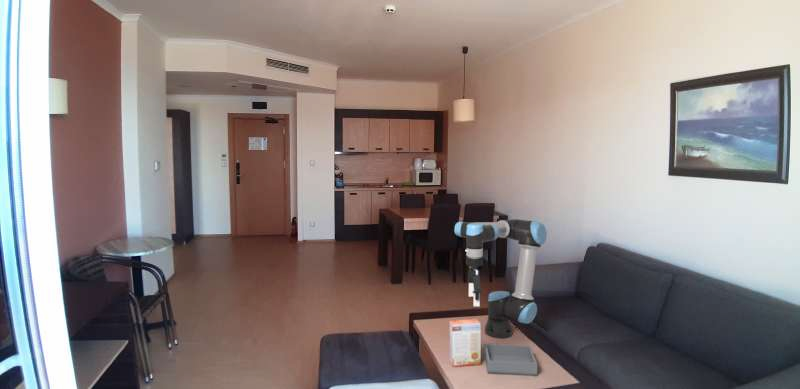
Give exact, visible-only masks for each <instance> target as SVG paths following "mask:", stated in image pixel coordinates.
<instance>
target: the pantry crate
mask: <svg viewBox="0 0 800 389" xmlns="http://www.w3.org/2000/svg"><path fill="white" fill-rule="evenodd" d="M532 349H533V348H532V347H531V346H530V345H515V344H514V345H513V344H495V343H494V344H491V343H490V344H489V343H484V361H485V365H486V366H485V367H486V372H487V374H488V375H507V376H508V375H509V376H510V375H511V376H523V377H524V376H526V377H538V363H537V359H536V357H535V355H534V353H533V350H532Z"/></svg>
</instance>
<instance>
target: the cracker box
mask: <svg viewBox="0 0 800 389" xmlns="http://www.w3.org/2000/svg"><path fill="white" fill-rule="evenodd" d="M481 326H482V324H481V322H480V320H479V319H478V318H469V319H467V318H466V319H455V320H449V363H450V365H451V366H452V368H457V367H467V366H469V367H470V366H478V365H479V366H480V365H481V362H482V359H481V357H482V356H481V355H482V354H481V353H482V352H481V350H482V349H481V347H482V346H481V345H482V343H481V342H482V340H481V339H482V338H481V337H482V334H481V333H482V328H481Z"/></svg>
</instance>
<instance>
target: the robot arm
mask: <svg viewBox="0 0 800 389" xmlns="http://www.w3.org/2000/svg"><path fill="white" fill-rule="evenodd" d="M454 234H455V235H456V236H458V237H460V238H465V239H466V246H465V248H466V249H465V250H464V251H465V252H466V254H465V256H466V257H465V263H466V266H468V276H467V280H468V297H469V298H470V297H473V301H472V302H473V307H480V300H481V299H480V298H481V294H480V293H481V292H482V289H481V288H482V287H481V278H480V276H481V275H480V272H481V271H480V269H479V267H481V266H482V267H483V256H484V252H483V251H484V248H483V246H484V244H483V243H486V242H488V243H489V242H493V241H495V240H497V239H498V238H500V239H509V240H513V241H517V242H518V244H517V245H518V247H520V250H519V256H518V257H519V259H518V265H517V272H516V280H515V281H516V282H515V287H514V288H515V289H514V292H513V293H512V294H511V293H510V292H509V291H505V290H497V291H496V290H495V291H491V292H490V293H489V294H488V300H487V302H488V303H487V307H488V308H487V311H488V312H487V319H486V320H487V321H486V323H485V327H484V334H485V335H487V336H489V337H492V338H497V339H505V338H506V339H507V338H510V337H511V336H513V327H512V324H511V320H512V321H515V322H519V323H520V324H521V323H522V324H525V325H526V324H531V323H532V322H533V320H534V319H535V317H537V316H536V315H537V313H538V306H537V304H536V303H535V301H534V300H535V299H534V296H533V295H532V293H533V292H532V291H533V286H534V285H533V284H534V277H535V269H536V260H537V253H538V250H540V249H541V245H544V244H545V243H546V240H547V234H548V233H547V228H546V227H545V225H544V224H543V223H542V222H540V221H536V220H526V219H525V220H524V219H516V218H515V219H501V220H498V221H497V222H496V221H494V222H493V221H492V222H490V221H489V222H488V221H485V222H482V221H481V222H477V221H475V222H466V221H458V222H456V223H455V225H454Z"/></svg>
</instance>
